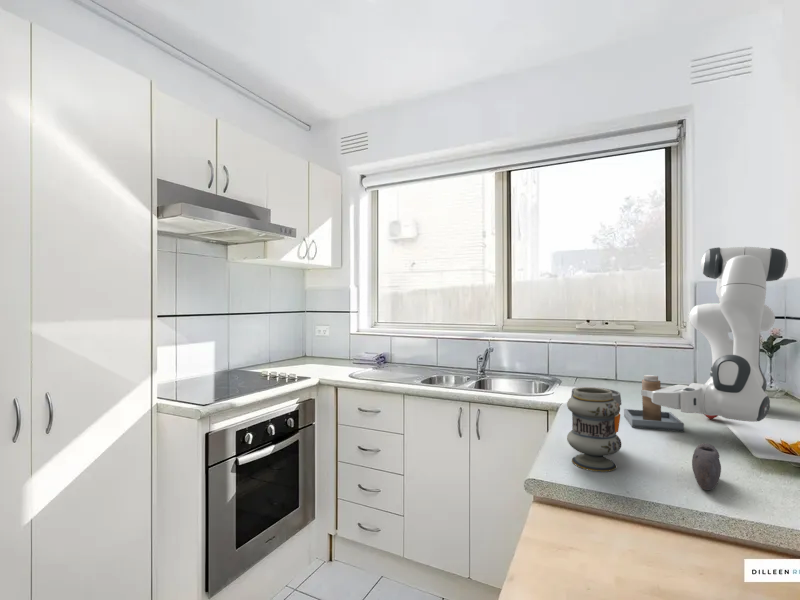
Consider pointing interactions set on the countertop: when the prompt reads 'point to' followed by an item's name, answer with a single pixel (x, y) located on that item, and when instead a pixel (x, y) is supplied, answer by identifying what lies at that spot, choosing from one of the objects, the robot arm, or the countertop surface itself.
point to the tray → (666, 421)
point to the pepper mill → (649, 408)
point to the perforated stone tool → (706, 466)
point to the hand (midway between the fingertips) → (649, 390)
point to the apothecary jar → (593, 428)
